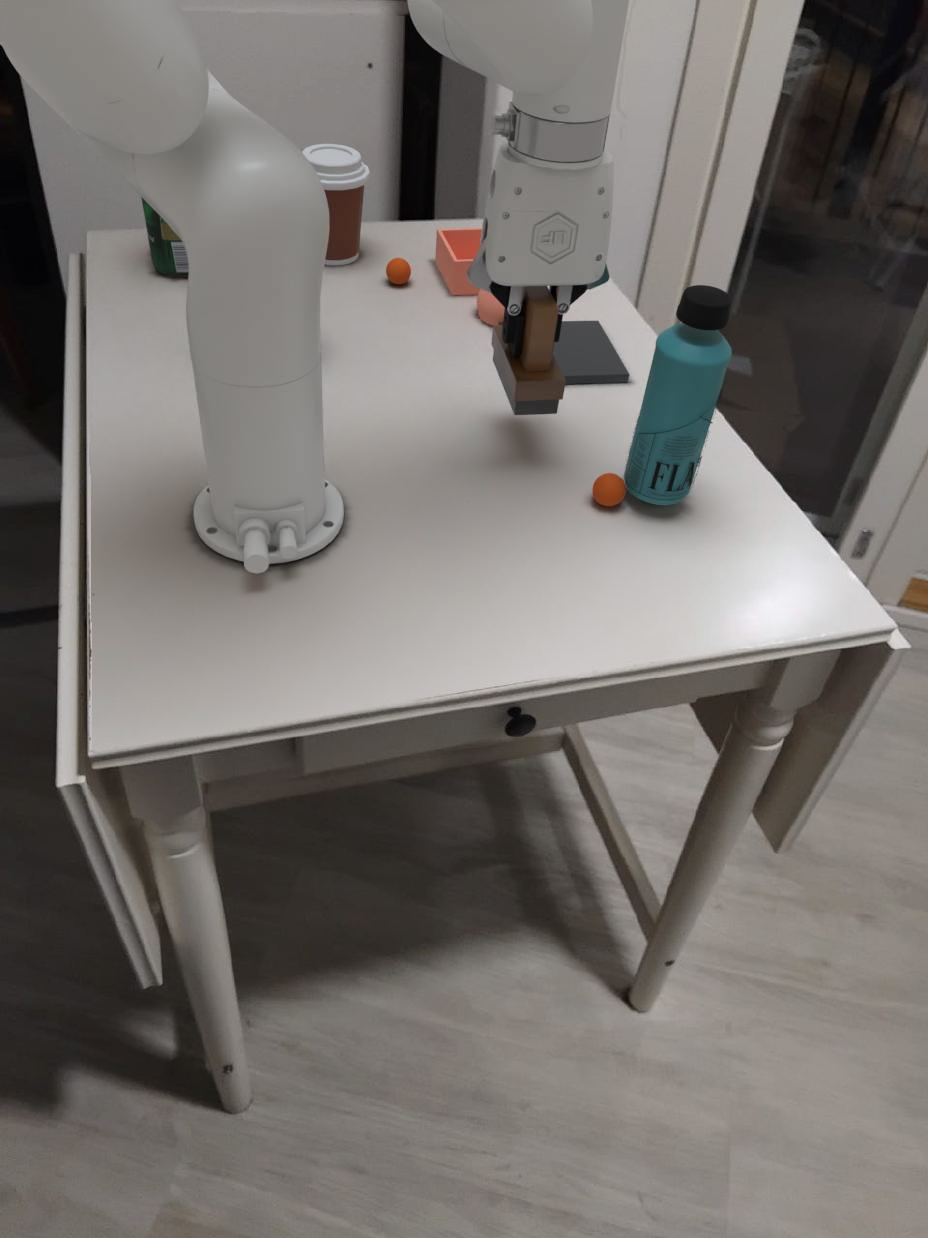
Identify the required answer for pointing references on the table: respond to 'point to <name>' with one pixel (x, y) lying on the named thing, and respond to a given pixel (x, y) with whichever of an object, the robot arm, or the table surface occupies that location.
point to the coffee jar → (164, 244)
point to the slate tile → (587, 354)
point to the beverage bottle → (680, 398)
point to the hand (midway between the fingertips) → (529, 347)
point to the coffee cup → (341, 197)
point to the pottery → (465, 269)
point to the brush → (532, 358)
